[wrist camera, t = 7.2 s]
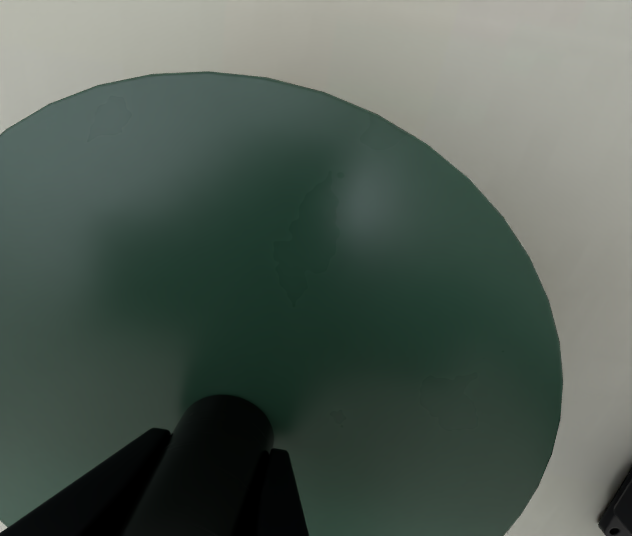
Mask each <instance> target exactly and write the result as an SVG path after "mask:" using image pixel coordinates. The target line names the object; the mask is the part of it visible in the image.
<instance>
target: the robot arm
mask: <svg viewBox="0 0 632 536" xmlns="http://www.w3.org/2000/svg"><path fill="white" fill-rule="evenodd" d="M170 435H171V433H170V431H169V430H167V429H162V428H151V429H149V430H148V431H146V432H145V433H143V434H142V435H140V436H139V437H138V438H136V439H135V440H133V441H132V442H130V443H129V444H127V445H126V446H125V447H123V448H122V449H120V450H119V451H117V452H116V453H115V454H113V455H112V456H110V457H109V458H107V459H106V460H104V461H103V462H102V463H100V464H99V465H97V466H96V467H94V468H93V469H91V470H90V471H89V472H87V473H86V474H84V475H83V476H81V477H80V478H79V479H77V480H76V481H74V482H73V483H71V484H70V485H68V486H67V487H66V488H64V489H63V490H61V491H60V492H58V493H57V494H55V495H54V496H53V497H51V498H50V499H48V500H47V501H45V502H44V503H43V504H41V505H40V506H38V507H37V508H35V509H34V510H32V511H31V512H30V513H28V514H27V515H25V516H24V517H22V518H21V519H19V520H18V521H17V522H15V523H14V524H12V525H11V526H9V527H8V528H7V529H5V530H4V531H2V532H1V533H0V536H109V535H110V534H111V532H112V530H113V529H114V527H115V525H116V524H117V522H118V521H119V519H120V517H121V516H122V514H123V512H124V511H125V509H126V507H127V506H128V504H129V503H130V501H131V499H132V498H133V496H134V494H135V493H136V491H137V489H138V488H139V486H140V485H141V483H142V481H143V480H144V478H145V476H146V475H147V473H148V471H149V470H150V468H151V467H152V465H153V463H154V462H155V460H156V458H157V457H158V455H159V453H160V452H161V450H162V448H163V447H164V445H165V444H166V442H167V440H168V439H169V437H170ZM598 525H599V528H600V529H601V530H602V531H603V533H604V534H605V535H606V536H632V470H631V471H630V473H629V475H628V476H627V478H626V479H625V481H624V483H623V484H622V486H621V487H620V489H619V491H618V492H617V494H616V495H615V497H614V499H613V500H612V502H611V504H610V505H609V507H608V508H607V510H606V512H605V513H604V515H603V516H602V518H601V520H600V521H599V524H598ZM254 536H309V533H308V529H307V525H306V521H305V517H304V512H303V508H302V504H301V500H300V496H299V492H298V488H297V484H296V480H295V476H294V472H293V468H292V464H291V460H290V456H289V453H288V451H287V450H283V449H277V448H272V449H271V451H270V454H269V459H268V463H267V467H266V472H265V476H264V480H263V485H262V489H261V494H260V499H259V505H258V511H257V517H256V524H255V531H254Z"/></svg>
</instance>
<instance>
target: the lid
mask: <svg viewBox="0 0 632 536" xmlns="http://www.w3.org/2000/svg"><path fill="white" fill-rule="evenodd" d="M562 390H563V374H562V363H561V352H560V341H559V338H558V334H557V330H556V326H555V322H554V319H553V315H552V311H551V307H550V303H549V300H548V297H547V295H546V293H545V291H544V289H543V286H542V284H541V282H540V280H539V277H538V275H537V273H536V271H535V268H534V266H533V264H532V262H531V259H530V257H529V256H528V254H527V253H526V251H525V250H524V248H523V247H522V245H521V243H520V242H519V240H518V239H517V237H516V236H515V234H514V233H513V231H512V230H511V228H510V227H509V225H508V224H507V222H506V220H505V219H504V217H503V216H502V215H501V214H500V213H499V212H498V211H497V209H496V208H495V207H494V206H493V205H492V204H491V203H490V202H489V201H488V199H487V198H486V197H485V196H484V195H483V194H482V193H481V192H480V191H479V189H478V188H477V187H476V186H475V185H474V184H473V183H472V182H471V181H470V179H469V178H467V177H466V176H465V175H464V174H463V173H461V172H460V171H459V170H458V169H456V168H455V167H454V166H453V165H452V164H450V163H449V162H448V161H447V160H446V159H444V158H443V157H442V156H441V155H439V154H438V153H437V152H436V151H435V150H433V149H432V148H431V147H430V146H429V145H427V144H426V143H424V142H423V141H421V140H419V139H418V138H416V137H414V136H413V135H411V134H409V133H408V132H406V131H404V130H403V129H401V128H399V127H398V126H396V125H394V124H393V123H391V122H389V121H388V120H386V119H384V118H383V117H381V116H379V115H378V114H375V113H373V112H370V111H368V110H366V109H363V108H361V107H359V106H356V105H354V104H351V103H349V102H347V101H344V100H342V99H339V98H337V97H335V96H332V95H330V94H327V93H325V92H322V91H318V90H314V89H310V88H306V87H302V86H298V85H295V84H291V83H287V82H283V81H279V80H275V79H271V78H267V77H258V76H248V75H239V74H229V73H220V72H210V71H207V72H185V73H163V74H150V75H145V76H140V77H135V78H131V79H126V80H121V81H116V82H111V83H106V84H101V85H97V86H95V87H92V88H90V89H87V90H84V91H82V92H79V93H77V94H74V95H71V96H69V97H66V98H63V99H61V100H58V101H56V102H53V103H50V104H48V105H47V106H45V107H43V108H41V109H40V110H38V111H36V112H35V113H33V114H31V115H30V116H28V117H26V118H25V119H23V120H21V121H20V122H18V123H16V124H14V125H13V126H11V127H9V128H8V129H6V130H5V131H4V132H3V133H2V134H1V135H0V520H1V522H2V523H3V524H5V525H6V526H7V527H9V526H11V525H12V524H14V523H15V522H17V521H18V520H19V519H21V518H22V517H24V516H25V515H27V514H28V513H30V512H31V511H32V510H34V509H35V508H37V507H38V506H40V505H41V504H43V503H44V502H45V501H47V500H48V499H50V498H51V497H53V496H54V495H55V494H57V493H58V492H60V491H61V490H63V489H64V488H66V487H67V486H68V485H70V484H71V483H73V482H74V481H76V480H77V479H79V478H80V477H81V476H83V475H84V474H86V473H87V472H89V471H90V470H91V469H93V468H94V467H96V466H97V465H99V464H100V463H102V462H103V461H104V460H106V459H107V458H109V457H110V456H112V455H113V454H115V453H116V452H117V451H119V450H120V449H122V448H123V447H125V446H126V445H127V444H129V443H130V442H132V441H133V440H135V439H136V438H138V437H139V436H140V435H142V434H143V433H145V432H146V431H148V430H149V429H151V428H162V429H167V430H169V431H170V433H171V435H170V437H169V439H168V440H167V442H166V444H165V445H164V447H163V448H162V450H161V452H160V453H159V455H158V457H157V458H156V460H155V462H154V463H153V465H152V467H151V468H150V470H149V471H148V473H147V475H146V476H145V478H144V480H143V481H142V483H141V485H140V486H139V488H138V489H137V491H136V493H135V494H134V496H133V498H132V499H131V501H130V503H129V504H128V506H127V507H126V509H125V511H124V512H123V514H122V516H121V517H120V519H119V521H118V522H117V524H116V525H115V527H114V529H113V530H112V532H111V534H110V535H109V536H254V531H255V524H256V517H257V511H258V505H259V499H260V494H261V489H262V485H263V480H264V476H265V472H266V467H267V463H268V459H269V454H270V451H271V449H272V448H277V449H283V450H287V451H288V453H289V456H290V460H291V464H292V468H293V472H294V476H295V480H296V484H297V488H298V492H299V496H300V500H301V504H302V508H303V512H304V517H305V521H306V525H307V529H308V533H309V536H504V535H505V533H506V532H507V531H508V530H509V529H510V527H511V526H512V525H513V524H514V522H515V521H516V520H517V519H518V518H519V516H520V515H521V514H522V512H523V510H524V509H525V507H526V506H527V504H528V502H529V501H530V499H531V497H532V496H533V494H534V492H535V491H536V489H537V487H538V486H539V483H540V481H541V479H542V476H543V474H544V471H545V469H546V467H547V464H548V462H549V459H550V457H551V455H552V451H553V447H554V443H555V439H556V435H557V431H558V426H559V422H560V416H561V403H562Z"/></svg>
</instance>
